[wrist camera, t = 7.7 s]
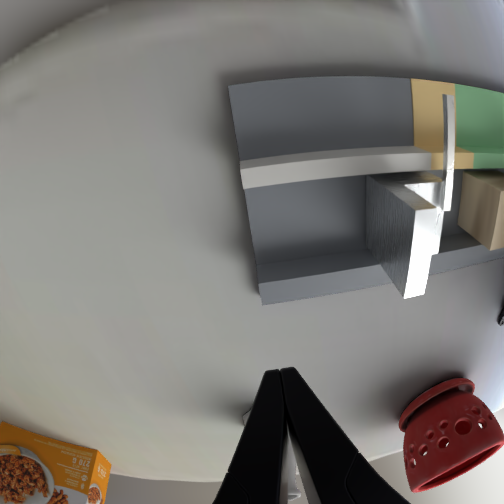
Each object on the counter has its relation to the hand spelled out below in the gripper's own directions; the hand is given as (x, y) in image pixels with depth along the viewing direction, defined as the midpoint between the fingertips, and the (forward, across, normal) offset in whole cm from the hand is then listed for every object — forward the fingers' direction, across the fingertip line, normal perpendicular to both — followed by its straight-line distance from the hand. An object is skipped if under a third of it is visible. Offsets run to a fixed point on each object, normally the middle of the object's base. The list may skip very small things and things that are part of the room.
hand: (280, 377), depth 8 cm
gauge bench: (+12, -11, 0) cm, 16 cm away
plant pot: (+12, -20, +29) cm, 37 cm away
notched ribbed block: (+11, -9, -2) cm, 14 cm away
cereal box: (+12, +41, +35) cm, 55 cm away
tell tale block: (+11, -16, 0) cm, 20 cm away
